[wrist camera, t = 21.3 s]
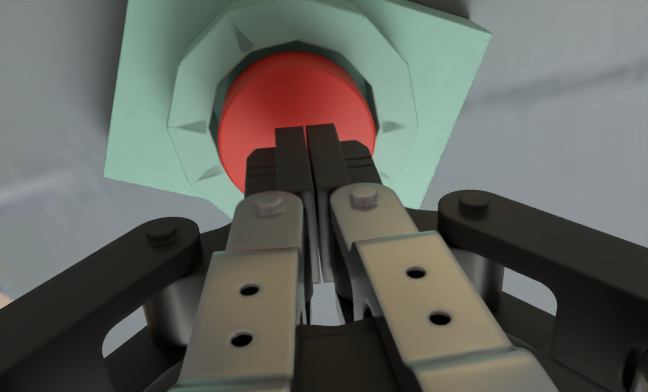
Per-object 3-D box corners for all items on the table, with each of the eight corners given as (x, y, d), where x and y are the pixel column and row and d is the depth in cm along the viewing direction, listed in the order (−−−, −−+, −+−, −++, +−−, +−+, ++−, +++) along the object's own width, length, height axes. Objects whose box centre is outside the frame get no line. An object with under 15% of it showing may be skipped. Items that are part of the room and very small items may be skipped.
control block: (116, 151, 21) (87, 202, 18) (152, -80, 18) (124, -73, 14) (393, 213, 24) (416, 269, 20) (471, 20, 20) (515, 46, 17)
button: (207, 169, 18) (202, 195, 16) (239, 31, 16) (237, 45, 15) (341, 199, 19) (348, 226, 17) (386, 72, 17) (398, 90, 16)
